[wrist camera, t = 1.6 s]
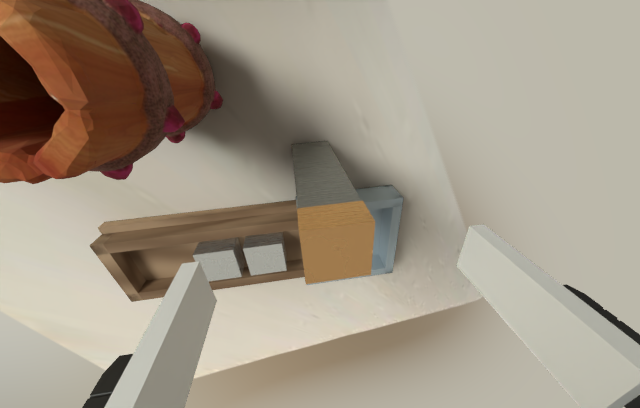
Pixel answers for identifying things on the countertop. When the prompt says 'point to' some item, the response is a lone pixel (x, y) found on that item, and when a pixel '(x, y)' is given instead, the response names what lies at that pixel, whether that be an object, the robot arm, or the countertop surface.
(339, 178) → the grey and tan block
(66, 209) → the countertop surface
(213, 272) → the chip
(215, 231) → the slot board
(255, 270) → the chip
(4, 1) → the mug
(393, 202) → the tray
